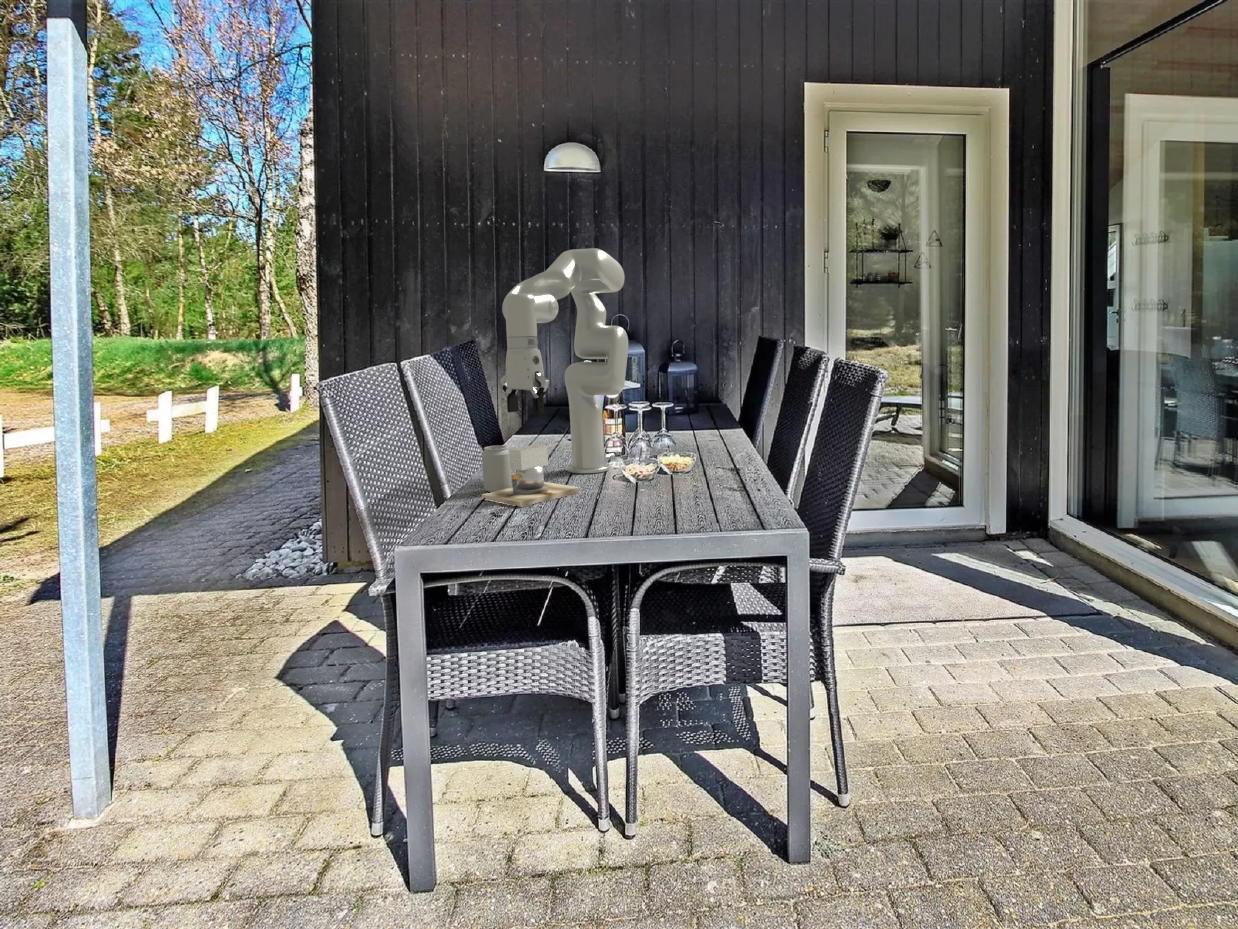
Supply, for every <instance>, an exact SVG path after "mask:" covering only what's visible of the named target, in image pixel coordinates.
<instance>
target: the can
mask: <svg viewBox="0 0 1238 929" xmlns="http://www.w3.org/2000/svg"><path fill="white" fill-rule="evenodd" d="M481 465H482V480H483V483H482V484H483V489H484V490H485V491H486V492H487V491H488V492H495V491H499V490H503V489H508V488H512V487H513V479H512V478H511V475H512V469H510V455H509V449H508V446H507V445H489V446H485V447H483V451H482V452H481ZM488 492H487V493H488Z"/></svg>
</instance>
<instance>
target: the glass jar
mask: <svg viewBox="0 0 1238 929" xmlns="http://www.w3.org/2000/svg"><path fill="white" fill-rule="evenodd" d="M508 450H509V455H510V469H511V470H515V474H511V478H512V480H513V481H514V480H516V486H517V488H521V489H533V488H540V487H543V486H544V482H545V474H544V466H549V453H548V452H549V451H548V445H547V444H546V445H544V444H538V443H536V444H531V445H524V446H519V447H513V448H509V449H508Z"/></svg>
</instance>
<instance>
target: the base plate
mask: <svg viewBox="0 0 1238 929" xmlns="http://www.w3.org/2000/svg"><path fill="white" fill-rule="evenodd" d="M577 493H578V494H580V487H578V486H573V485H566V484H562V483H561V484H560V483H555V482H547V481H544V486H543V487H540V488H533V489H521V488H517V485H516V486H512V488H508V489H503V490H499V491H495V492H490V493H488V492H486V493H482V494H481V499H482V498H486V499H489V500H493V501H497V502H504V503H507V504H510V505H517V506H520V507H522V506H525V505H530V506H533V505H532V504H534V505H536V504H535V503H538V502H542V503H545V501H546V502H549V501H548V500H550V501H553V500H552V499H554V500H556V499H555V498H558V499H561V497H562V498H565V496H566V497H569V496H568V495H570V496H573V495H577ZM538 504H539V503H538ZM522 508H523V507H522Z"/></svg>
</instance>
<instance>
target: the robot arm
mask: <svg viewBox="0 0 1238 929" xmlns="http://www.w3.org/2000/svg"><path fill="white" fill-rule="evenodd" d="M624 284H625V272H624V269H623V267H622V265H621V264H620V263H619V262H618V261H617V260H616V259H615V258H613V256H611V255H610V254H609V253H608V252H606V251H604V250H602V249H600V248H595V247H594V248H593V247H591V248H578V249H577V248H576V249H569V250H566V251H563V252H562V253H560V255H558V256H557V258H555V260H554V261H553V262H552V263H551V265H550V266H549V267H548V268H547V269H546V270H545V271H543V272H540V273H537V274H536V275H534V276H532V277H529V278H526V279H525V280H522V281H521V282H519V283H517V284H516V285H515V286H514V287H512V289H510V290H509V292H507V295H506V296H505V297H504V300H503V302H502V306H501V307H502V308H501V309H502V310H501V311H502V314H503V317H504V319H505V327H506V328H505V330H506V345H507V347H506V348H507V350H506V353H505V354H506V357H505V374H504V375H503V376H502V377H500V379H499V380H500V385H501V386H502V390H503V391H504V395H505V397H506V404H507V405H506V406H507V408H506V409H507V412H508V413H515V412H519V396H518V395H517V394H518V392H519V391H530V392H531V394H532V396H533V397H532V414H533V415H542V414H544V413H545V404H544V403H545V400H544V398H545V397H546V393H548V391H549V390H548V389H549V385H550V380H549V379H548V378H547V377H546V376H545V371H544V363H543V358H542V354H541V351H540V350H541V349H539V348H538V344H539V340H538V326H537V325H538V324H546V323H550V322H552V321H554V320H555V319H556V317H557V316H558V314H559V307H560V306H559V303H558V301H559V300H560V299H563V298H565V297H567V296H568V295H569V294H570V293H571V296H572V298H573V300H574V303H575V305H576V312H577V314H576V323H575V324H576V325H575V333H574V340H573V350H574V353H575V355H576V356H577V357H578V358H580V359H586V360H587V359H588V360H607V361H581V362H579V361H578V362H574V363H571V364H570V365H569V366H567V367H566V369H565V371H564V384H565V387H566V388H565V389H566V393H567V397H568V405H569V408H568V409H569V420H570V422H569V424H570V426H569V427H570V442H571V443H570V444H571V445H570V446H571V464H569V465H568V466H567V467H566V471H567V472H569V473H572V474H598V473H603V472H607V471H609V470H611V469H610V468H611V466H610V464H608V461H610V460H614V459H616V455H615V453H614V452H609V453H607V452H605V449H604V448H605V445H604V444H605V442H604V422H603V421H604V420H603V409H602V406H601V404H600V402H599V401H598V399H597V398H596V397H595V396H616V395H619V394H621V392H623V390H624V388H625V382H626V372H627V366H628V364H627V363H628V355H629V337H628V334H627V332H626V330H625V329H624V328H623V327H622V326H619V325H606V323H607V322H606V321H607V310H606V307H605V306H604V303H603V302H602V301H601V300H600V299H599V297H598V296H597V295H596V294H602V293H604V294H605V293H607V294H608V293H616V292H619V291H620V290H621V289H622V288H623V287H624Z"/></svg>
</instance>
